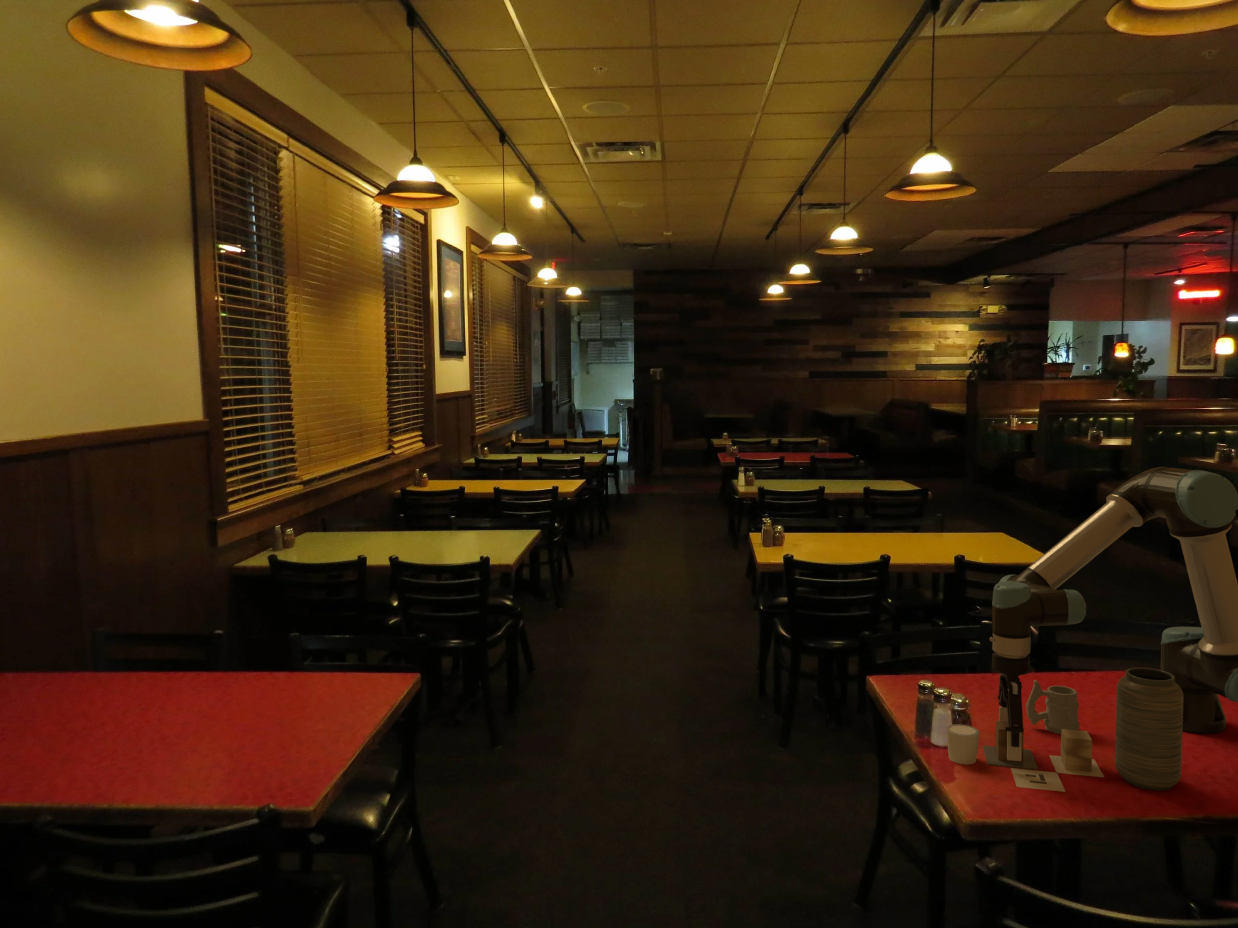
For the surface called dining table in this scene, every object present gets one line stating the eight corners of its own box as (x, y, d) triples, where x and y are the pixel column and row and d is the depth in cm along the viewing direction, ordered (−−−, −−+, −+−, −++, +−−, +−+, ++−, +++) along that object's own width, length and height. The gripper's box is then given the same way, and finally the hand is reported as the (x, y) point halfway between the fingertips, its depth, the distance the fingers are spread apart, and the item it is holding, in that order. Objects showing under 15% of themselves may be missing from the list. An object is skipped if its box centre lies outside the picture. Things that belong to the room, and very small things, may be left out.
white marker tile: (1056, 773, 181) (1056, 772, 181) (1065, 792, 173) (1065, 791, 173) (1010, 769, 184) (1010, 767, 184) (1016, 787, 175) (1016, 786, 175)
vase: (1191, 796, 170) (1195, 684, 168) (1128, 793, 172) (1130, 682, 170) (1165, 771, 181) (1168, 665, 179) (1105, 768, 183) (1108, 664, 181)
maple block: (1086, 761, 186) (1086, 730, 185) (1091, 771, 181) (1092, 739, 180) (1060, 759, 187) (1061, 728, 187) (1065, 769, 183) (1065, 737, 182)
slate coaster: (1030, 752, 192) (1030, 749, 192) (1038, 770, 183) (1038, 768, 183) (982, 747, 195) (982, 745, 195) (987, 766, 186) (987, 763, 186)
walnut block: (1019, 752, 191) (1020, 722, 190) (1023, 762, 186) (1023, 731, 185) (995, 750, 192) (995, 720, 192) (998, 759, 187) (998, 728, 187)
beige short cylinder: (976, 769, 184) (976, 737, 184) (942, 762, 188) (943, 731, 187) (981, 757, 190) (981, 727, 190) (949, 751, 194) (949, 721, 193)
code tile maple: (1094, 760, 187) (1094, 759, 187) (1104, 778, 179) (1104, 776, 179) (1049, 756, 190) (1049, 754, 190) (1056, 773, 181) (1056, 772, 181)
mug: (1084, 737, 200) (1085, 687, 199) (1030, 734, 202) (1031, 685, 201) (1073, 724, 207) (1074, 676, 206) (1021, 722, 209) (1022, 674, 208)
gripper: (985, 636, 200) (985, 724, 202) (999, 669, 176) (998, 769, 178) (1020, 638, 198) (1019, 727, 200) (1039, 672, 174) (1038, 772, 176)
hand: (1009, 747), depth 189 cm, fingers open, 13 cm apart
